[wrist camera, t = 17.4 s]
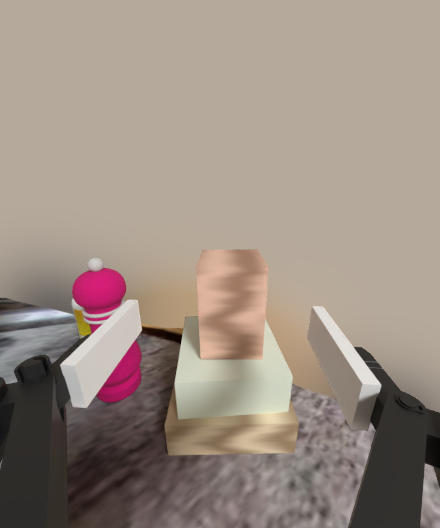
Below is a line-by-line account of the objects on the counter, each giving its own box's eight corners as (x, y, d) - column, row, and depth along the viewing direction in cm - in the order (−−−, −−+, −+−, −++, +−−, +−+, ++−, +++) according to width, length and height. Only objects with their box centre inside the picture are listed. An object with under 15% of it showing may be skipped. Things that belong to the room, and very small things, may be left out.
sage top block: (178, 419, 23) (174, 383, 21) (187, 343, 34) (185, 316, 32) (288, 411, 23) (292, 376, 22) (261, 340, 35) (262, 313, 33)
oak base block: (168, 457, 24) (164, 426, 22) (185, 362, 37) (184, 338, 35) (293, 455, 24) (298, 423, 22) (266, 361, 37) (268, 337, 35)
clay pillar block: (200, 359, 24) (196, 267, 21) (205, 323, 31) (202, 249, 27) (262, 359, 24) (268, 267, 20) (253, 323, 31) (257, 249, 27)
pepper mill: (142, 399, 30) (120, 264, 23) (85, 412, 28) (44, 270, 22) (146, 362, 36) (130, 249, 30) (100, 370, 35) (72, 252, 28)
